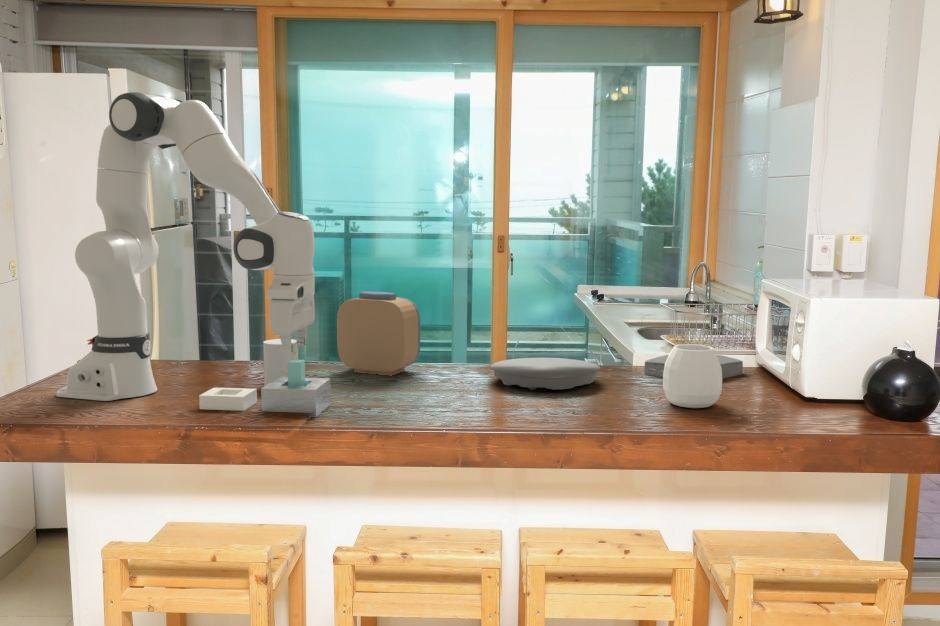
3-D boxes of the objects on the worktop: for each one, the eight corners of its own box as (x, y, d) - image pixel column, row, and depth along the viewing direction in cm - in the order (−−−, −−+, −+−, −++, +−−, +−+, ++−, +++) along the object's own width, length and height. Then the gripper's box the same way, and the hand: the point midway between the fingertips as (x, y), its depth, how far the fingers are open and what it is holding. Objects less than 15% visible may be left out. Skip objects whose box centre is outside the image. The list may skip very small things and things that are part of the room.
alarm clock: (421, 371, 234) (421, 292, 231) (404, 378, 225) (404, 296, 223) (356, 365, 242) (355, 289, 240) (337, 371, 234) (336, 292, 231)
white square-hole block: (199, 413, 188) (199, 395, 187) (214, 404, 196) (213, 387, 195) (244, 414, 187) (243, 396, 186) (257, 406, 195) (256, 388, 194)
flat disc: (623, 386, 217) (623, 369, 217) (536, 400, 202) (536, 381, 201) (552, 370, 240) (552, 354, 240) (469, 381, 225) (469, 364, 224)
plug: (288, 406, 190) (287, 362, 189) (292, 403, 193) (291, 359, 192) (301, 407, 190) (300, 362, 188) (305, 403, 193) (305, 359, 191)
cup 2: (650, 401, 201) (652, 344, 199) (696, 396, 206) (698, 340, 205) (685, 414, 189) (687, 354, 187) (733, 408, 194) (736, 350, 192)
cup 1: (290, 394, 207) (289, 344, 205) (259, 392, 208) (257, 343, 207) (303, 387, 214) (302, 339, 213) (273, 385, 216) (271, 338, 215)
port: (261, 415, 186) (261, 388, 185) (280, 402, 198) (279, 376, 197) (315, 417, 185) (315, 389, 184) (331, 404, 197) (330, 378, 196)
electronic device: (637, 374, 234) (637, 356, 233) (685, 364, 248) (685, 347, 247) (697, 386, 220) (697, 367, 219) (744, 375, 234) (745, 357, 233)
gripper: (295, 281, 198) (295, 341, 200) (264, 291, 178) (264, 357, 180) (321, 282, 198) (321, 342, 200) (293, 292, 178) (294, 358, 179)
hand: (294, 349), depth 190 cm, fingers open, 8 cm apart
